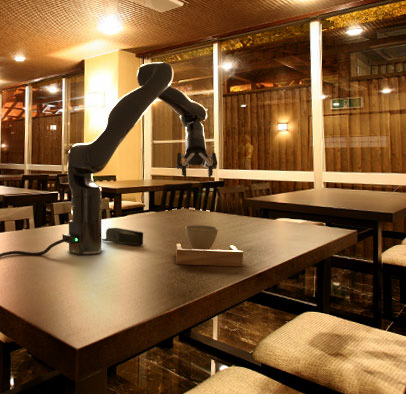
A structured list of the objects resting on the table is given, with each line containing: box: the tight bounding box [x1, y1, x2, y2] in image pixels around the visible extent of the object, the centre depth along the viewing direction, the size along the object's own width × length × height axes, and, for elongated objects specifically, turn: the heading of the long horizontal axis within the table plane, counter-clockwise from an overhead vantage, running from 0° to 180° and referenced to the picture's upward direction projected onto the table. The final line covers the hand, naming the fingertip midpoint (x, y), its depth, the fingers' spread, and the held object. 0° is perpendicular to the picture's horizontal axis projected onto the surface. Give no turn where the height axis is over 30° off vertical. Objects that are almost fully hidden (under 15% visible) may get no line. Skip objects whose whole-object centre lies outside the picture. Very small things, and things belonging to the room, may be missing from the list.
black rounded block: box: [101, 227, 144, 247], centre depth 135 cm, size 5×3×15 cm
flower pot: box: [184, 224, 219, 250], centre depth 125 cm, size 10×10×7 cm
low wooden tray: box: [175, 243, 244, 267], centre depth 111 cm, size 10×17×4 cm, turn 82°
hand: (197, 175), depth 140 cm, fingers open, 8 cm apart
